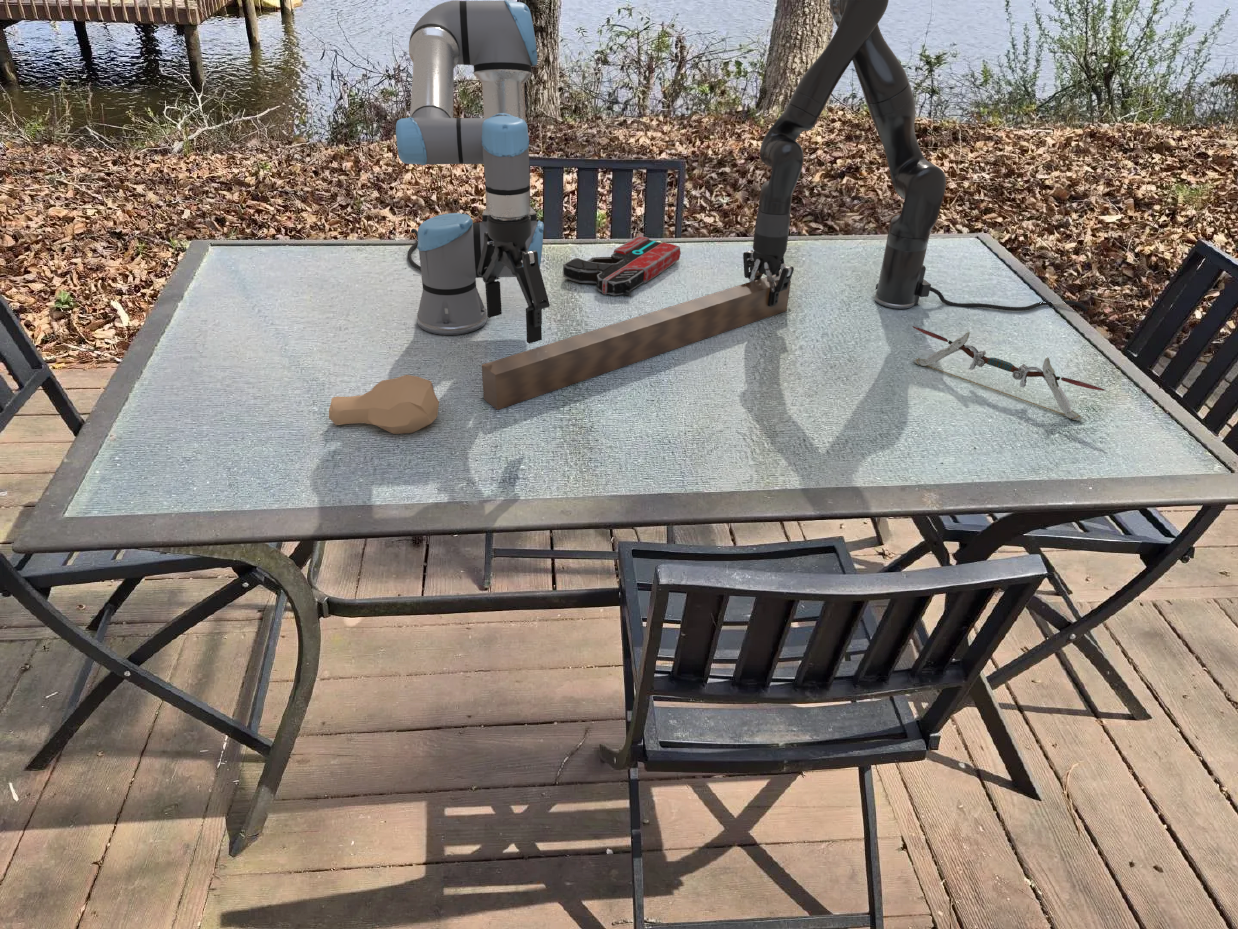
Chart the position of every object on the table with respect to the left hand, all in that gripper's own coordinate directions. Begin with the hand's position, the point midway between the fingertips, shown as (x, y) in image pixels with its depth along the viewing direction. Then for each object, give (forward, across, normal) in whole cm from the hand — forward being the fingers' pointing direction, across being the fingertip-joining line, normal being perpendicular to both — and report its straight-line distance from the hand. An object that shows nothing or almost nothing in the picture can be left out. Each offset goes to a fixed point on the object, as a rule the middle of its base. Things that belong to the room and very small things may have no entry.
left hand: (513, 328), depth 162 cm
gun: (+14, +38, -57) cm, 70 cm away
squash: (+14, +5, +25) cm, 29 cm away
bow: (+14, -54, -79) cm, 96 cm away
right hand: (+11, 0, -68) cm, 69 cm away
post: (+14, 0, -34) cm, 37 cm away
